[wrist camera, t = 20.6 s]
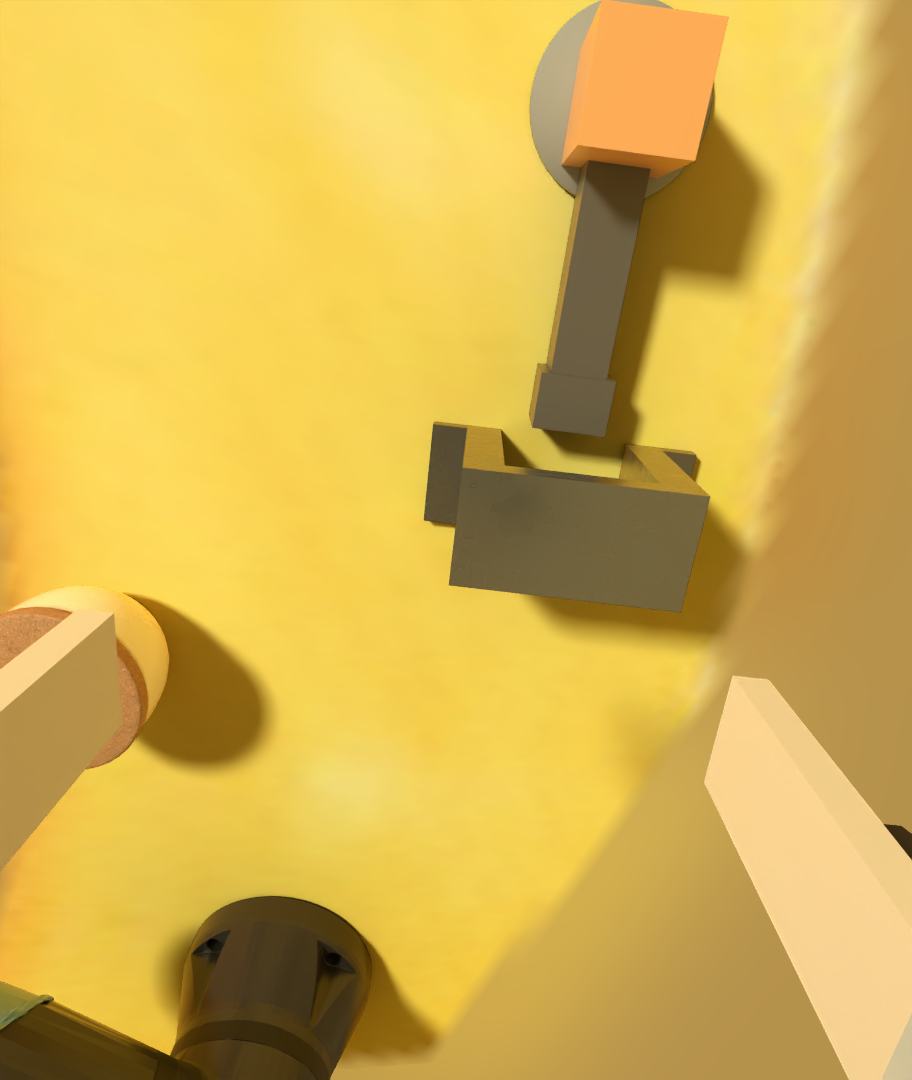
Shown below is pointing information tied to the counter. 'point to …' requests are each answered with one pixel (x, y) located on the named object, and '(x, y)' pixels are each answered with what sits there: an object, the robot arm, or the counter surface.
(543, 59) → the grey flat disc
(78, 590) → the lidded jar
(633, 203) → the plug
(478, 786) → the counter surface
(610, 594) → the housing
